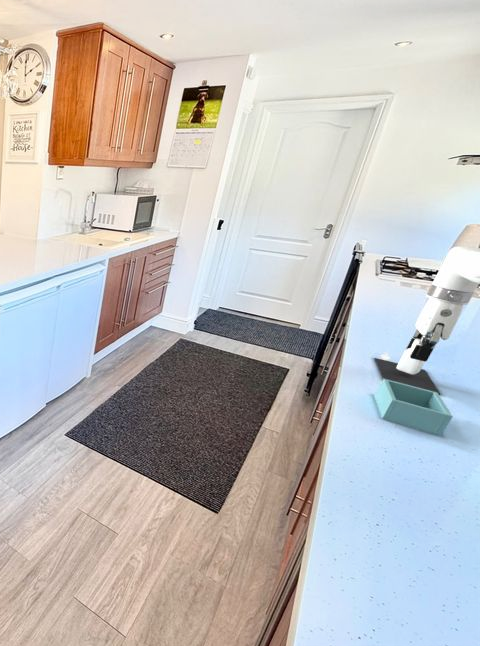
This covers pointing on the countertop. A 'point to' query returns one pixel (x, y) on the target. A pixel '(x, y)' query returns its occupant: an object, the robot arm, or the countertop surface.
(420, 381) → the mat
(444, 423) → the bin
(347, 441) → the countertop surface
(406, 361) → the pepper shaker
